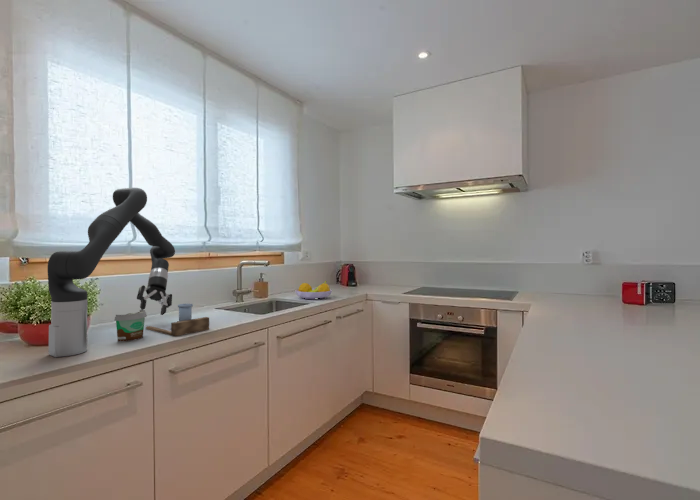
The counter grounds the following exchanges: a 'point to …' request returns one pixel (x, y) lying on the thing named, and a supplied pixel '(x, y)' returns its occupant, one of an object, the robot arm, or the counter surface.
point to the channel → (184, 327)
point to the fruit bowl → (313, 291)
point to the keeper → (185, 312)
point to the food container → (130, 326)
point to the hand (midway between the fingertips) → (153, 311)
